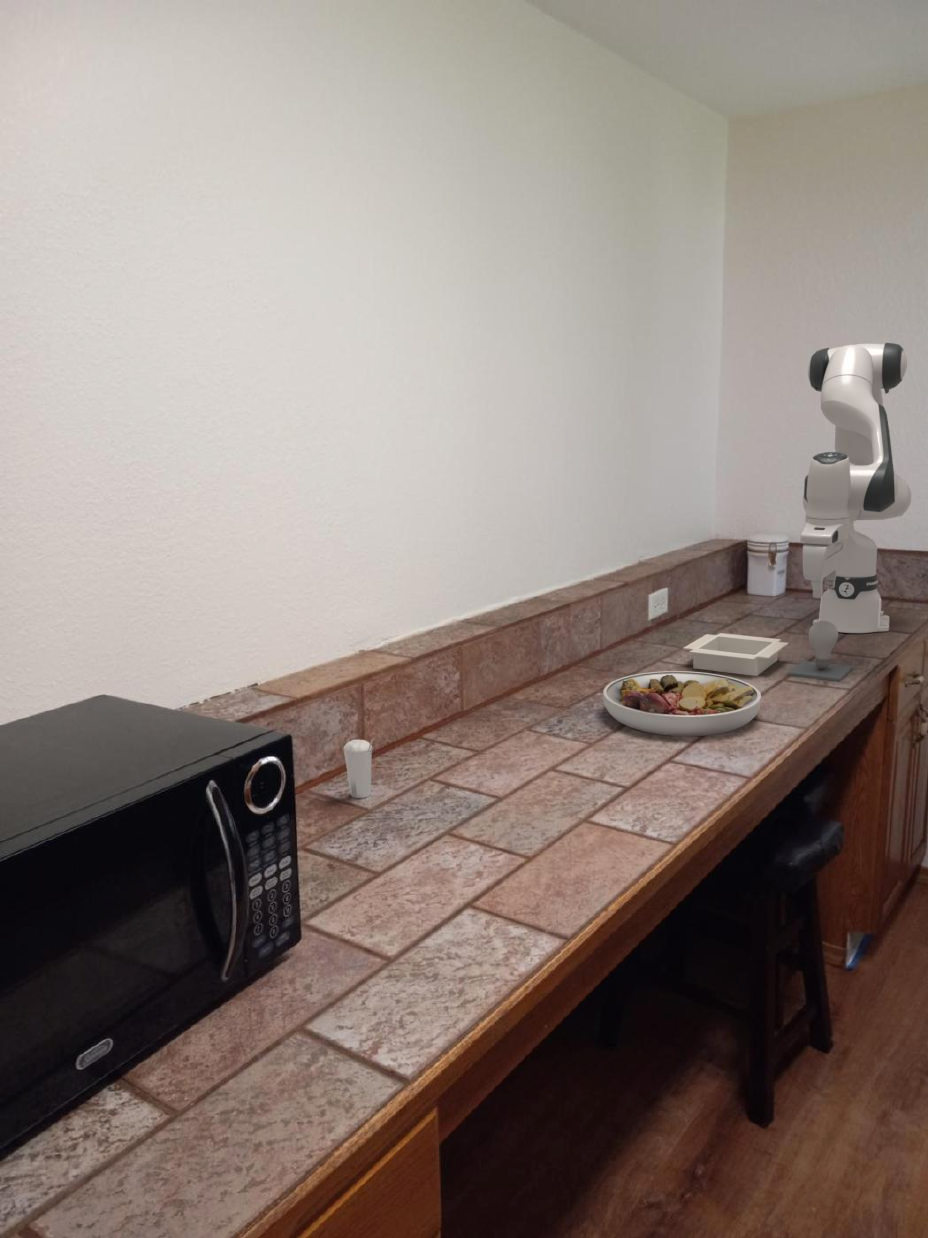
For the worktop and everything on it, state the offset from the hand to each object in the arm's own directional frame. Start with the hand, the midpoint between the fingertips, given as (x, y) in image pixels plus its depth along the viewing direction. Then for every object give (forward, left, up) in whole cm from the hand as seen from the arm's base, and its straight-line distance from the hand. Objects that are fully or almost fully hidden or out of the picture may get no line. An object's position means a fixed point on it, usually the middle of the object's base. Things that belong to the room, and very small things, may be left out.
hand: (823, 592), depth 215 cm
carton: (+2, -18, -18) cm, 26 cm away
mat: (0, 0, -18) cm, 18 cm away
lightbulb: (0, 0, -17) cm, 17 cm away
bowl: (+42, -15, -18) cm, 49 cm away
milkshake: (+104, -44, -18) cm, 115 cm away
